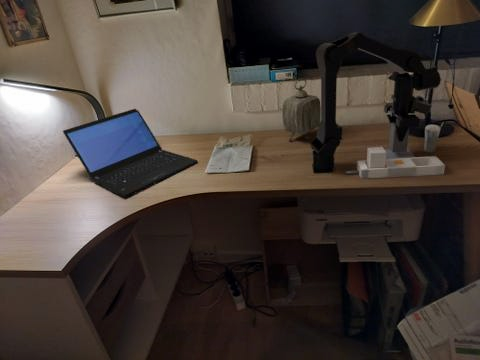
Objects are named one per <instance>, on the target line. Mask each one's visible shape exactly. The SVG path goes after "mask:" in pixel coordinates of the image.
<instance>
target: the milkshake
mask: <svg viewBox="0 0 480 360" xmlns="http://www.w3.org/2000/svg"><path fill="white" fill-rule="evenodd" d="M444 122H445V121H443V122H442V123H441V125H437V124H428V125H426V126H425V127H424V148H423V150H424V152H428V153H430V152H431V153H434V152H435V150H436V146H437V142H438V138H439V136H440V132H441V128H442V126H443V124H444Z"/></svg>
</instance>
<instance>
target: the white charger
mask: <svg viewBox="0 0 480 360" xmlns="http://www.w3.org/2000/svg"><path fill="white" fill-rule="evenodd" d="M366 151H367V152H366V160H367V167H368V169H373V168H385V161H386V151H385V148H384V146H373V147H367V150H366Z"/></svg>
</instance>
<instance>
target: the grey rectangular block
mask: <svg viewBox="0 0 480 360" xmlns="http://www.w3.org/2000/svg"><path fill="white" fill-rule="evenodd" d="M394 123H396V122H394ZM394 123H391V125H390V130H389V131H390V132H389V141H388V149H390V150H391V151H392V152H406V151H407V148H408V141H409V135H410V128H409V129H408V131H407V133H406V135H405V137H404V139H403V141H402V142H399V140H398V137H397V133H396V130H395V126H394Z"/></svg>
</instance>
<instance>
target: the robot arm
mask: <svg viewBox="0 0 480 360" xmlns="http://www.w3.org/2000/svg"><path fill="white" fill-rule="evenodd" d="M356 50H359V51H362V52H365V53H367V54H370V55H372V56H375V57H377V58H379V59H381V60H384V61H385V62H386V63H388V64H389V65H390V66H391V67H393V68H394V69H396V70H398V71H403V72H402V73H400V72H398V71H393V73H392V74H390V75H389V76H388V78H387V79H388V80H391V81H393V82H394V84H393V94H392V95H391V100H392V102H389V103H386V104H385V105H384V106H383V112H384V113H385V114H386V117H387V120H388V122H389V124H390V125H389V126H391V123H394V122H396V123H394V126H395V130H396V133H397V137H398V140H399V142H402V141H403V139H404V137H405V135H406V133H407V131H408V129H409V130H410V128H419V127H421V123H422V120H421V118H419V117H418V116H417V115H416V113H419V114H423V115H425V116H428V114H429V113H430V111H431V110H432V109H431V108H432V106H433V105H432V104H430V103H429V102H427V101H425V99H424V97H423V96H420V95H417V96H416V97H415V96H414V91H416V92H417V91H418V92H419V91H420V92H421V91H427V90H431V89H437V88H438V87H439V86H440V84H441V80H442V78H441V74H440V72H439V71H438V66H435V65H431V66H427V67H425V66H424V63H423V62H422V58H421V57H422V56H421V54H420V53H419V52H417V51H412V50H406V49H400V48H396V47H395V48H394V47H392V46H390V45H389V44H386V43H383V42H381V41H379V40H376V39H374V38H371V37H369V36H366V35H364V33H362V32H351V33H349V34H348V35H346V36H344V37H341V38H338V39H336V40H333V41H332V42H325V43H322V44H320V45H319V46H318V47H317V49H316V52H315V57H316V63H317V67H318V70H319V73H320V78H321V80H320V85H321V86H320V88H321V89H320V93H321V95H320V98H321V99H320V108H321V119H320V124H319V126H318V127H317V131H316V136H315V137H314V138H313V139H312V140H311V142H310V143H309V146H310V148H311V150H312V164H311V166H312V173H313V174H319V173H323V174H324V173H333V172H334V168H335V154H336V150H337V148H338V147H339V146H340V145H341V141H343V136H342V134H343V127H342V126H341V125H339V124H338V123H337V120H336V119H337V85H338V84H337V80H338V74H339V72H340V69H341V68H342V62H343V59H344V58H346V57H348V56H349V55H351V54H352V53H354V52H355V51H356ZM410 73H412V74H410Z"/></svg>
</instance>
